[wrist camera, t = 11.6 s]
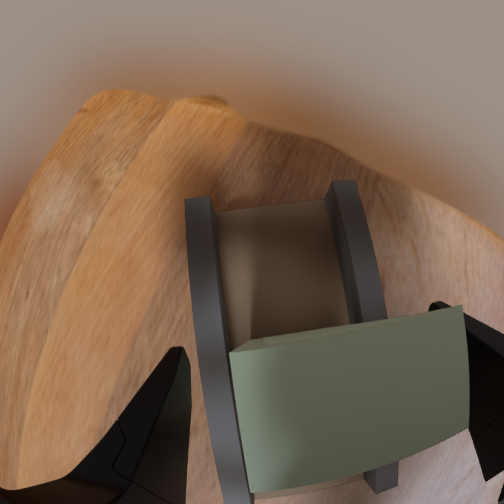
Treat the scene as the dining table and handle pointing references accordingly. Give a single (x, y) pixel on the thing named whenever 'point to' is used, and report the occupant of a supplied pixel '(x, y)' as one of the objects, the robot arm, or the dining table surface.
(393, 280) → the dining table surface
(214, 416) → the door track
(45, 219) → the dining table surface
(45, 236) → the dining table surface
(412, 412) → the sage green panelled box
